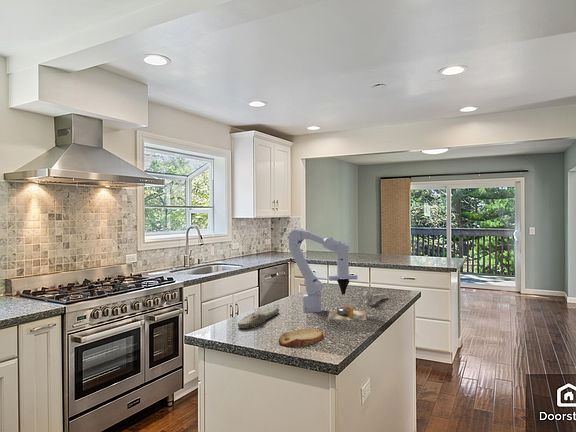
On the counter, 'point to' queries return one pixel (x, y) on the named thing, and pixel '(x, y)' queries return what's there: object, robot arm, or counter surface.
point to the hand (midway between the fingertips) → (343, 294)
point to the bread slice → (300, 337)
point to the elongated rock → (257, 318)
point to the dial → (345, 311)
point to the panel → (356, 314)
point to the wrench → (372, 297)
